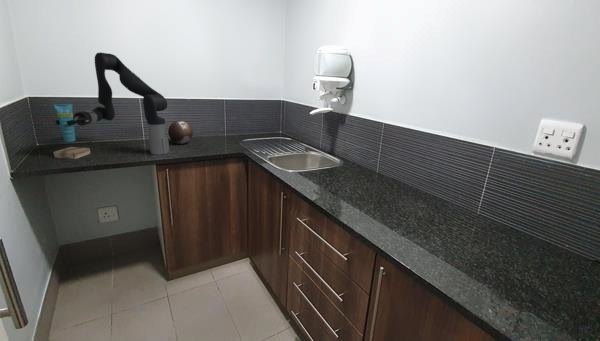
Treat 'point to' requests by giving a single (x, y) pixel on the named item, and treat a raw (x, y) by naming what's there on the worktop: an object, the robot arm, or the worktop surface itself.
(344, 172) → the worktop surface
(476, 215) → the worktop surface
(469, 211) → the worktop surface
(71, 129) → the tube
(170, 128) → the wooden sphere
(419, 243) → the worktop surface
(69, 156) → the plinth
